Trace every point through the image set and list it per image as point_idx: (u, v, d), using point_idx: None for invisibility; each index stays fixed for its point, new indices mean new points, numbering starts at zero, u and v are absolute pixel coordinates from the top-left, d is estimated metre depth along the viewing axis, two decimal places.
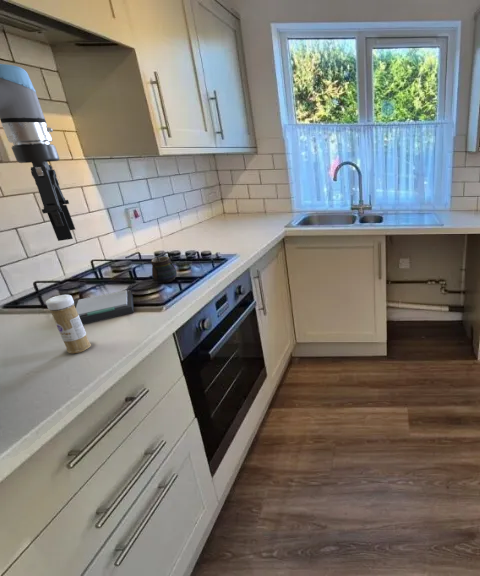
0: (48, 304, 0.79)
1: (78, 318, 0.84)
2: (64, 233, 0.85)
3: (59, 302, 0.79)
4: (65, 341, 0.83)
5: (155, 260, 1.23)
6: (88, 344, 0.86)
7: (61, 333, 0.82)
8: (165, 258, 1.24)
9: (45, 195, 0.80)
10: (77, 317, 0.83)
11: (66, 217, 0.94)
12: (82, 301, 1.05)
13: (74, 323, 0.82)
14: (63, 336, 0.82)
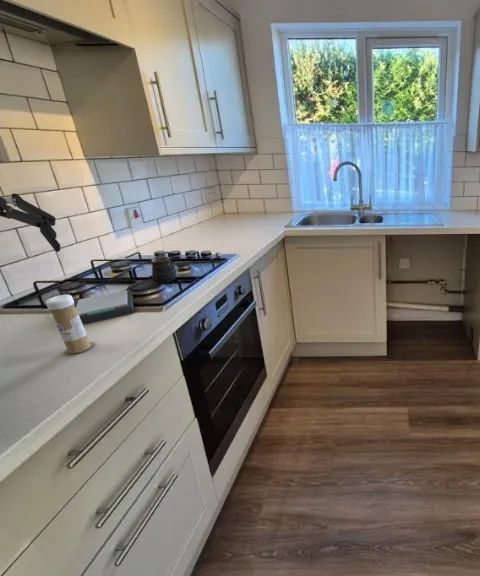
0: (48, 304, 0.79)
1: (78, 318, 0.84)
2: None
3: (59, 302, 0.79)
4: (65, 341, 0.83)
5: (155, 260, 1.23)
6: (88, 344, 0.86)
7: (61, 333, 0.82)
8: (165, 258, 1.24)
9: None
10: (77, 317, 0.83)
11: None
12: (82, 301, 1.05)
13: (74, 323, 0.83)
14: (63, 336, 0.82)
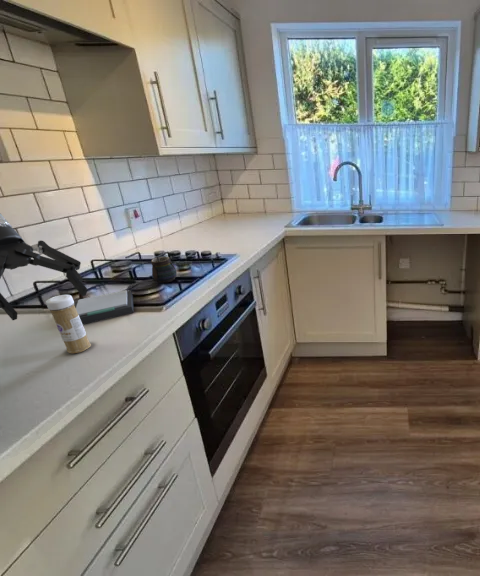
0: (48, 304, 0.79)
1: (78, 318, 0.84)
2: None
3: (59, 302, 0.79)
4: (65, 341, 0.83)
5: (155, 260, 1.23)
6: (88, 344, 0.86)
7: (61, 333, 0.82)
8: (165, 258, 1.24)
9: None
10: (77, 317, 0.83)
11: None
12: (82, 301, 1.05)
13: (74, 323, 0.83)
14: (63, 336, 0.82)
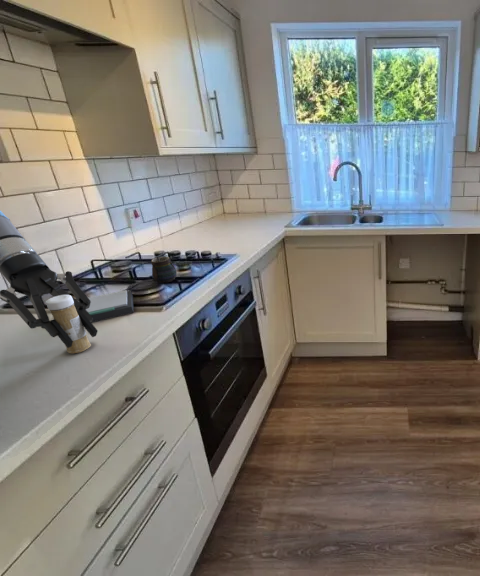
0: (48, 304, 0.79)
1: (78, 318, 0.84)
2: None
3: (59, 302, 0.79)
4: None
5: (155, 260, 1.23)
6: (88, 344, 0.86)
7: None
8: (165, 258, 1.24)
9: None
10: (77, 317, 0.83)
11: None
12: None
13: (74, 323, 0.82)
14: None
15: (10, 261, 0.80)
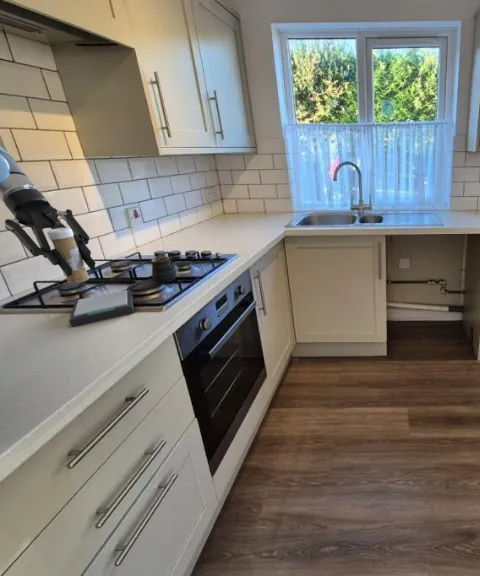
0: (49, 234, 0.85)
1: (77, 250, 0.90)
2: None
3: (59, 232, 0.86)
4: None
5: (155, 260, 1.23)
6: (87, 276, 0.92)
7: None
8: (165, 258, 1.24)
9: None
10: (76, 249, 0.89)
11: None
12: (82, 301, 1.05)
13: (74, 254, 0.89)
14: None
15: (14, 194, 0.86)
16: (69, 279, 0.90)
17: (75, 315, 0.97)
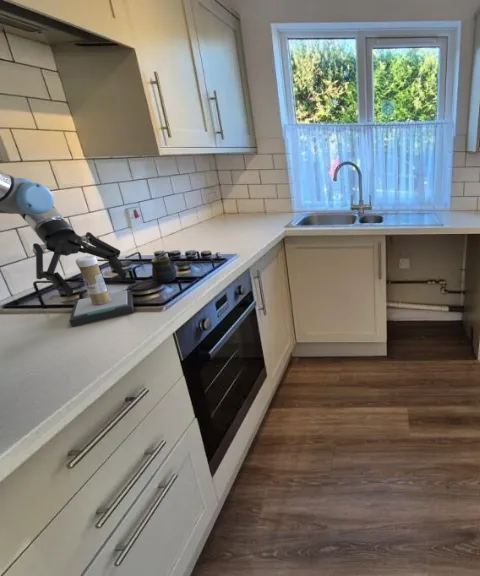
0: (77, 262, 0.97)
1: (101, 275, 1.02)
2: None
3: (86, 261, 0.97)
4: (90, 294, 1.01)
5: (155, 260, 1.23)
6: (109, 298, 1.04)
7: (87, 287, 1.00)
8: (165, 258, 1.24)
9: None
10: (100, 274, 1.01)
11: None
12: (82, 301, 1.05)
13: (98, 279, 1.00)
14: (89, 290, 1.00)
15: (45, 225, 0.97)
16: (93, 301, 1.02)
17: (75, 315, 0.97)
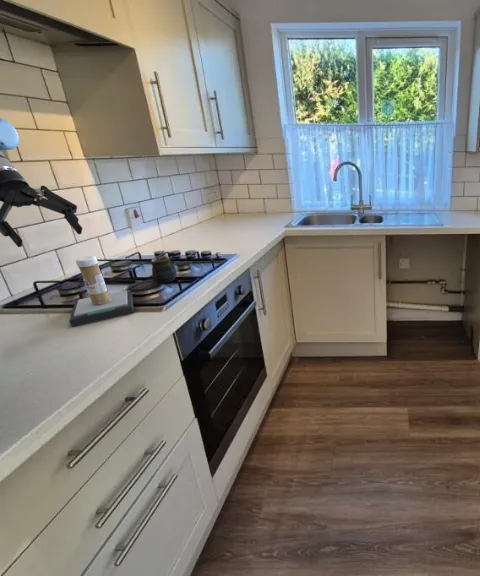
0: (77, 262, 0.97)
1: (101, 275, 1.02)
2: None
3: (86, 261, 0.97)
4: (90, 294, 1.01)
5: (155, 260, 1.23)
6: (109, 298, 1.04)
7: (87, 287, 1.00)
8: (165, 258, 1.24)
9: None
10: (100, 274, 1.01)
11: None
12: (82, 301, 1.05)
13: (98, 279, 1.00)
14: (89, 290, 1.00)
15: None
16: (93, 301, 1.02)
17: (75, 315, 0.97)
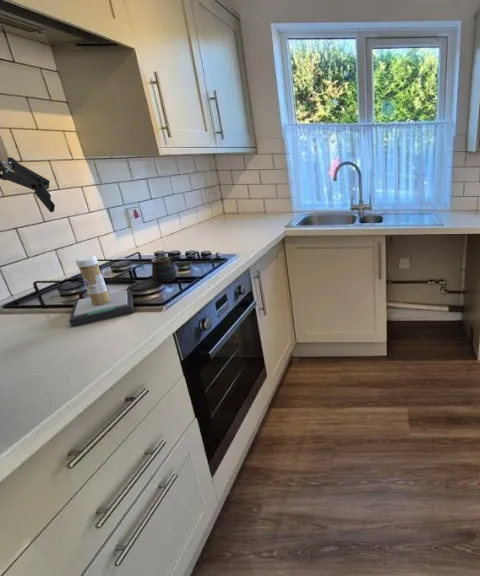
0: (77, 262, 0.97)
1: (101, 275, 1.02)
2: None
3: (86, 261, 0.97)
4: (90, 294, 1.01)
5: (155, 260, 1.23)
6: (109, 298, 1.04)
7: (87, 287, 1.00)
8: (165, 258, 1.24)
9: None
10: (100, 274, 1.01)
11: None
12: (82, 301, 1.05)
13: (98, 279, 1.00)
14: (89, 290, 1.00)
15: None
16: (93, 301, 1.02)
17: (75, 315, 0.97)
